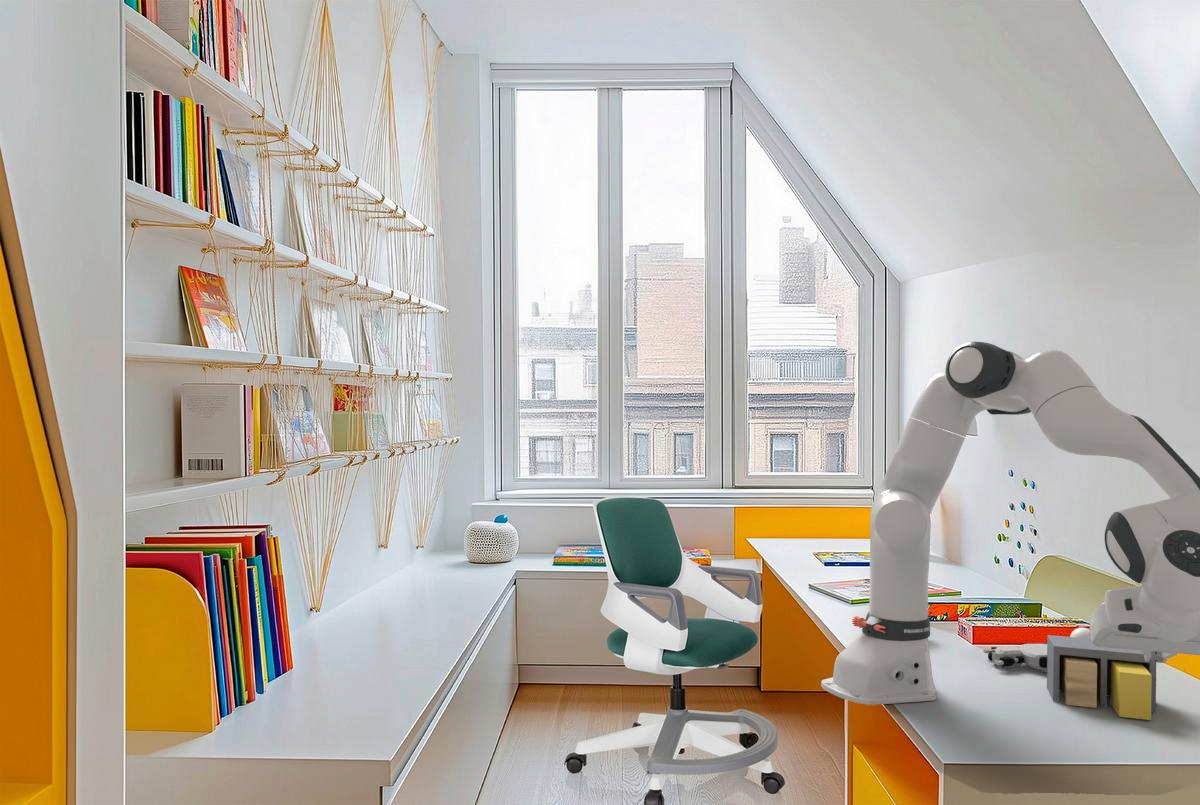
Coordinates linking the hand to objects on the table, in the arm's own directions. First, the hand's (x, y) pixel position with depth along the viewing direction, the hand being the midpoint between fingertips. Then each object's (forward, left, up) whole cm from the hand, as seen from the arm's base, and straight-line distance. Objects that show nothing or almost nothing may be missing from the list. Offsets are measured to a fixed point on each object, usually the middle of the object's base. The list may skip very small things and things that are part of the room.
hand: (1154, 658), depth 150 cm
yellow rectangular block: (+12, +12, -14) cm, 22 cm away
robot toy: (+19, +41, -15) cm, 48 cm away
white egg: (+43, +44, -15) cm, 63 cm away
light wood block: (+9, +21, -14) cm, 27 cm away
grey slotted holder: (+13, +19, -14) cm, 27 cm away
